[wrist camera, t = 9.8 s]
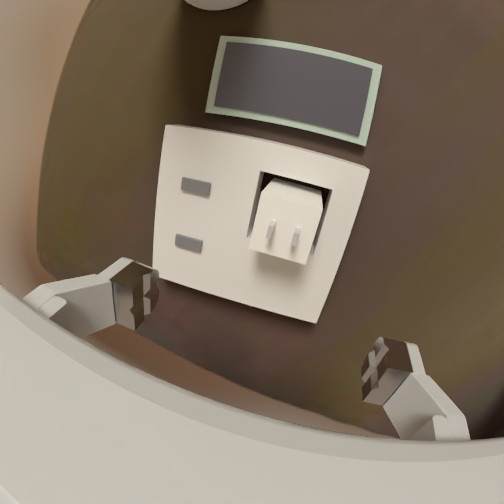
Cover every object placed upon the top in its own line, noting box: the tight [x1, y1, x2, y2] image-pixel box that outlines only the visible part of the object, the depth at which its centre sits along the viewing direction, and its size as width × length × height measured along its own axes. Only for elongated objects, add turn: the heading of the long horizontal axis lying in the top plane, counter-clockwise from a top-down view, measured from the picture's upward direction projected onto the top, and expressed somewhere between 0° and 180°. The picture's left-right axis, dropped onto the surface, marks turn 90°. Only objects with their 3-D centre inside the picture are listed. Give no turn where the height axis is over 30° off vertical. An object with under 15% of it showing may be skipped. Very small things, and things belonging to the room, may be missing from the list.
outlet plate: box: [153, 125, 370, 323], centre depth 24 cm, size 16×14×3 cm
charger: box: [248, 178, 323, 265], centre depth 21 cm, size 4×4×7 cm
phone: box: [205, 36, 382, 146], centre depth 20 cm, size 13×7×2 cm, turn 79°
